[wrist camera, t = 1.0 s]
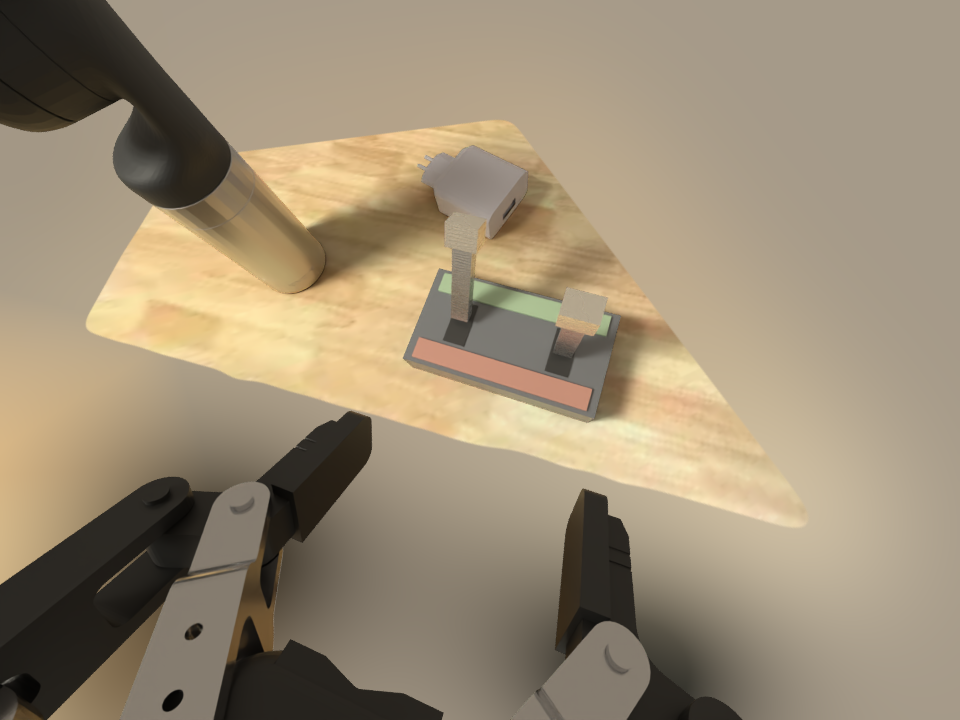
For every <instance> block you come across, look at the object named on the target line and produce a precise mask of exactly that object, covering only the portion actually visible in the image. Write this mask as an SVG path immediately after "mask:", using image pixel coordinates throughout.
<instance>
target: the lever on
mask: <svg viewBox="0 0 960 720" xmlns="http://www.w3.org/2000/svg"><path fill="white" fill-rule="evenodd" d="M486 222H487V219H485V218H480V217H476V216H472V215H467V214H463V213H458V212H454V213H453V214H452V215H451V216H450V217H449V218H448V219H447V220H446V221H445V247H449V248H452V285H451V318H454V319H457V320H461V321H464V322H468V320H469V319H470V317H471V315H472V303H473V290H474V277H475V264H476V254H477V253H478V251H479V250H480V249H481V247H482V246H483V244H484V243H485V233H486Z"/></svg>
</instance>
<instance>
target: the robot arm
mask: <svg viewBox="0 0 960 720" xmlns="http://www.w3.org/2000/svg"><path fill="white" fill-rule="evenodd" d="M120 99H125V100H127V101H128V102H130V103H131V104H132V105H133V106H134V107H133V111H132V114H131V116H130V118H129V119H128V121H127V123H126V124H125V126H124V128H123V130H122V131H121V133H120V134H119V136H118V138H117V141H116V143H115V147H114V152H113V164H114V168H115V171H116V173H117V175H118V177H119V178H120V179H121V181H122V182H123V183H124V184H125V185H126V186H127V187H128V188H130V189H131V190H132V191H134V192H135V193H136V194H138V195H139V196H141V197H142V198H144V199H145V200H146V201H148V202H149V203H151V204H152V205H154V206H155V207H156V208H158V209H159V210H161V211H162V212H164V213H165V214H166V215H168V216H169V217H171V218H172V219H174V220H175V221H176V222H178V223H179V224H181V225H182V226H184V227H185V228H187V229H188V230H189V231H191V232H192V233H194V234H195V235H197V236H198V237H199V238H201V239H202V240H204V241H205V242H207V243H208V244H209V245H211V246H212V247H214V248H215V249H217V250H218V251H219V252H221V253H222V254H224V255H225V256H227V257H228V258H229V259H231V260H232V261H234V262H235V263H236V264H238V265H239V266H241V267H242V268H244V269H245V270H246V271H248V272H249V273H251V274H252V275H253V276H255V277H256V278H258V279H259V280H261V281H262V282H263V283H265V284H266V285H268V286H269V287H271V288H272V289H273V290H275V291H278V292H280V293H296V292H300V291H302V290H304V289H306V288H308V287H309V286H311V285H312V284H313V283H314V282H315V281H316V280H317V279H318V278H319V276H320V275H321V273H322V271H323V269H324V266H325V252H324V250H323V248H322V246H321V245H320V244H319V242H318V241H317V240H316V239H315V238H314V237H313V236H312V235H311V233H310V232H309V231H308V230H307V229H306V228H305V227H304V225H303V224H302V223H301V222H300V221H299V220H298V219H297V218H296V217H295V215H294V214H293V213H292V212H291V211H290V210H289V209H288V208H287V207H286V206H285V204H284V203H283V202H282V201H281V200H280V199H279V198H278V197H277V196H276V194H275V193H274V192H273V191H272V190H271V189H270V188H269V187H268V186H267V185H266V183H265V182H264V181H263V180H262V179H261V178H260V177H259V176H258V175H257V174H256V172H255V171H254V170H253V169H252V168H251V167H250V166H249V165H248V164H247V163H246V162H245V160H244V159H243V158H242V157H241V156H240V155H239V154H238V153H237V152H236V151H235V149H234V148H233V147H232V146H231V145H230V144H229V143H228V142H227V141H226V140H225V138H224V137H223V136H222V135H221V134H220V133H219V132H218V131H217V130H216V129H215V128H214V127H213V125H212V124H211V123H210V122H209V121H208V120H207V118H206V117H205V116H204V115H203V114H202V113H201V112H200V110H199V109H198V108H197V107H196V106H195V105H194V104H193V102H192V101H191V100H190V99H189V98H188V97H187V95H186V94H185V93H184V92H183V91H182V90H181V89H180V88H179V87H178V85H177V84H176V83H175V82H174V81H173V80H172V79H171V78H170V76H169V75H168V74H167V73H166V72H165V71H164V70H163V68H162V67H161V66H160V65H159V64H158V63H157V62H156V60H155V59H154V58H153V57H152V55H151V54H150V53H149V52H148V51H147V50H146V48H144V46H143V45H142V44H141V42H140V41H139V40H138V39H137V38H136V36H135V35H134V34H133V33H132V32H131V30H130V29H129V28H128V27H127V25H126V24H125V23H124V22H123V21H122V19H121V18H120V17H119V16H118V15H117V13H116V12H115V11H114V10H113V9H112V8H111V6H110V5H109V4H108V2H107V1H106V0H0V124H3V125H6V126H9V127H12V128H17V129H20V130H24V131H30V132H47V131H52V130H57V129H60V128H64V127H67V126H69V125H71V124H73V123H76V122H78V121H80V120H82V119H84V118H85V117H87V116H89V115H91V114H93V113H95V112H97V111H99V110H101V109H103V108H105V107H107V106H109V105H111V104H113V103H115V102H116V101H118V100H120ZM371 450H372V425H371V418H370V417H368V416H365V415H362V414H359V413H355V412H353V411H349V412H347V413H346V414H345V415H344V416H343V417H342V418H341V419H339V420H338V421H337V422H335V421H333V420H331V421H329V422H327V423H325V424H323V425H321V426H318V427H317V428H315V429H314V430H313V431H312V432H311V433H310V434H309V435H308V436H306V438H305V440H304V439H303V440H302V441H301V442H300V443H299V444H298V445H297V446H296V448H293V449H292V450H291V451H290V452H289V453H288V454H286V456H284V457H283V458H282V459H281V460H280V461H279V462H278V463H276V464H275V465H274V466H273V467H272V468H271V469H270V470H269V471H268V472H266V473H265V474H264V475H263V476H262V477H261V478H260V479H258V480H257V481H256V482H246V483H241V484H238V485H235V486H233V487H231V488H229V489H227V490H226V491H224V492H201V491H192V490H191V488H190V486H189V483H188V482H187V481H186V480H185V479H183V478H180V477H167V478H161V479H157V480H154V481H152V482H149V483H147V484H145V485H143V486H142V487H140V488H138V489H137V490H135V491H134V492H133V493H131V494H130V495H128V496H127V497H125V498H124V499H123V500H121V501H120V502H118V503H117V504H115V505H114V506H113V507H111V508H110V509H108V510H107V511H105V512H104V513H102V514H101V515H100V516H98V517H97V518H95V519H94V520H93V521H91V522H90V523H88V524H87V525H85V526H84V527H82V528H81V529H80V530H78V531H77V532H75V533H74V534H72V535H71V536H69V537H68V538H67V539H65V540H64V541H62V542H61V543H59V544H58V545H57V546H55V547H54V548H52V549H51V550H49V551H48V552H47V553H45V554H44V555H42V556H41V557H39V558H38V559H37V560H35V561H34V562H32V563H31V564H29V565H28V566H26V567H25V568H24V569H22V570H21V571H19V572H18V573H16V574H15V575H14V576H12V577H11V578H9V579H8V580H7V581H5V582H4V583H2V584H1V585H0V720H47V719H48V718H49V717H50V716H51V715H52V714H53V713H54V712H55V711H56V710H57V709H58V708H59V707H60V706H61V705H62V704H63V703H64V702H65V701H66V700H67V699H68V698H69V697H70V696H71V695H72V694H73V693H74V692H75V691H76V690H77V689H78V688H79V687H80V686H81V685H82V684H83V683H84V682H85V681H86V680H87V679H88V678H89V677H90V676H91V675H92V674H93V673H94V672H95V671H96V670H97V669H98V668H99V667H100V666H101V665H102V664H103V663H104V662H105V661H106V660H107V659H108V658H109V657H110V656H111V655H112V654H113V653H114V652H115V651H116V650H117V649H118V648H119V647H120V646H121V645H122V644H123V643H124V642H125V641H126V639H128V638H129V637H130V636H131V635H132V634H133V633H134V632H135V631H136V630H137V629H138V628H139V626H141V625H142V624H143V623H144V622H145V621H146V620H147V619H148V618H149V616H151V615H152V614H153V613H154V612H155V611H156V610H157V609H158V608H159V607H160V606H161V604H163V602H165V603H164V606H163V608H162V611H161V614H160V616H159V619H158V621H157V624H156V627H155V629H154V632H153V634H152V637H151V640H150V642H149V645H148V647H147V650H146V653H145V655H144V658H143V660H142V663H141V665H140V668H139V671H138V673H137V676H136V679H135V681H134V684H133V686H132V689H131V691H130V694H129V697H128V699H127V702H126V705H125V707H124V710H123V712H122V715H121V717H120V720H442V717H443V712H441V711H439V710H437V709H435V708H433V707H431V706H428V705H426V704H424V703H422V702H420V701H418V700H416V699H414V698H412V697H410V696H408V695H406V694H403V693H393V692H383V691H373V690H362V689H358V688H356V687H355V686H354V685H353V684H352V683H351V682H350V681H349V680H348V679H347V678H346V677H345V676H344V675H343V674H342V673H341V672H340V671H339V670H338V669H337V667H336V666H335V665H334V664H333V663H332V662H331V661H330V660H329V659H328V658H327V657H326V656H324V655H322V654H320V653H318V652H316V651H314V650H312V649H310V648H308V647H306V646H303V645H302V644H299V643H297V642H295V641H293V640H290V641H289V642H288V644H287V645H286V647H285V648H284V650H283V651H282V650H280V651H273V645H274V620H273V619H274V609H275V602H276V595H277V589H278V582H279V576H280V569H281V562H282V555H283V546H284V545H285V544H286V543H287V541H289V539H290V538H292V539H295V540H297V541H300V542H302V543H303V541H304V540H305V539H306V538H307V536H308V535H309V534H310V533H311V531H312V530H313V529H314V528H315V526H316V525H317V524H318V523H319V521H320V520H321V519H322V518H323V517H324V515H325V514H326V512H328V510H329V509H330V508H331V506H332V505H333V504H334V503H335V502H336V500H337V499H338V498H339V497H340V495H341V494H342V493H343V491H344V490H345V489H346V488H347V487H348V485H349V484H350V483H351V482H352V480H353V479H354V478H355V477H356V476H357V474H358V473H359V472H360V470H361V469H362V468H363V467H364V465H365V464H366V463H367V461H368V459H369V457H370V454H371ZM145 549H146V550H147V551H146V552H145V553H144V554H143V555H141V556H140V557H139V558H138V559H137V560H135V561H134V562H133V563H132V564H131V565H130V566H128V567H127V568H126V569H125V570H124V571H123V572H121V573H120V574H119V575H118V576H117V577H116V578H114V579H113V580H112V581H111V582H110V583H109V584H107V585H106V586H105V587H104V588H103V589H101V590H100V591H99V592H98V590H99V589H100V588H101V587H102V585H104V583H106V582H107V581H108V580H109V579H110V578H112V577H113V576H114V575H115V574H116V573H117V572H119V571H120V570H121V569H122V568H123V567H124V566H126V565H127V564H128V563H129V562H131V561H132V560H133V559H134V558H135V557H136V556H138V555H139V554H140V553H141V552H142V551H144V550H145ZM97 592H98V593H97ZM96 593H97V594H96ZM555 650H556V651H558V652H561V653H563V654H565V655H566V656H565V661H564V662H563V664H562V665H561V666H560V667H559V668H558V669H557V670H556V671H555V673H554V674H553V675H552V676H551V677H550V678H549V680H548V681H547V682H546V683H545V684H544V685H543V686H542V687H541V688H540V689H538V690H537V691H536V692H535V693H534V694H533V695H532V696H531V697H530V698H529V699H528V700H527V701H526V702H525V703H524V704H523V706H522V707H521V708H520V709H519V710H518V712H516V714H515V715H514V716H513V717H512V718H511V719H510V720H742V719H741V718H740V717H739V716H738V715H737V714H736V712H734V711H733V710H732V709H731V708H730V707H729V706H727V705H726V704H724V703H723V702H721V701H719V700H717V699H715V698H712V697H700V698H698V699H696V700H695V699H694V698H693V697H691V696H690V695H689V694H687V693H686V692H685V691H684V690H682V689H681V688H680V687H679V686H677V685H676V684H675V683H674V682H672V681H671V680H670V679H669V678H667V677H666V676H665V675H663V673H661V672H660V671H659V670H658V669H657V668H656V667H655V665H654V664H653V663H652V662H651V661H650V659H649V658H648V656H647V654H646V652H645V650H644V648H643V646H642V645H641V643H640V640H639V638H638V634H637V629H636V618H635V606H634V594H633V583H632V572H631V559H630V547H629V536H628V534H627V532H626V530H625V528H624V526H623V523H622V521H621V519H619V518H616V517H613V516H610V515H608V500H607V497H606V496H605V495H601V494H598V493H595V492H592V491H589V490H586V489H582V490H581V492H580V495H579V497H578V499H577V502H576V504H575V506H574V509H573V511H572V513H571V515H570V518H569V521H568V524H567V529H566V534H565V543H564V554H563V566H562V577H561V587H560V598H559V609H558V620H557V631H556V642H555Z"/></svg>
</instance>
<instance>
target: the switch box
mask: <svg viewBox="0 0 960 720" xmlns="http://www.w3.org/2000/svg"><path fill="white" fill-rule="evenodd" d="M451 285H452V272H451V271H447V270H443V269H439V270H438V273H437V275H436V278H435V280H434V282H433V285H432V287H431V290H430V292H429V295H428V297H427V300H426V302H425V305H424V307H423V310H422V312H421V315H420V317H419V320H418V322H417V324H416V327H415V329H414V332H413V334H412V337H411V339H410V342H409V344H408V347H407V349H406V352H405V354H404V357H403V359H404V360H405V361H406V362H407V363H409V364H410V365H411V366H412V367H414V368H417V369H420V370H423V371H426V372H430V373H433V374H436V375H439V376H442V377H445V378H448V379H451V380H455V381H458V382H461V383H464V384H467V385H470V386H473V387H477V388H480V389H483V390H486V391H489V392H492V393H495V394H498V395H502V396H505V397H508V398H511V399H514V400H517V401H520V402H524V403H527V404H530V405H533V406H536V407H539V408H542V409H545V410H549V411H552V412H555V413H558V414H561V415H564V416H567V417H571V418H574V419H577V420H580V421H583V422H586V423H587V422H589V421H591V420H593V419H594V418H595V414H596V410H597V407H598V403H599V399H600V395H601V391H602V387H603V383H604V379H605V376H606V372H607V368H608V364H609V360H610V356H611V352H612V348H613V345H614V341H615V337H616V333H617V329H618V325H619V321H620V317H621V316H619V315H616V314H612V313H608V312H604V314H603V317H602V321H601V325H600V327H599V328H598V330H597V332H596V333H595V335H594V336H590V335H586V334H585V335H584V336H583V338H582V340H581V342H580V343H579V345H578V347H577V349H576V351H575V352H574V354H573V356H572V358H568V357H565V356H561V355H558V354H554V353H553V351H554V347H555V344H556V341H557V338H558V335H559V332H560V329H561V327H557V326H555V324H556V321H557V318H558V314H559V311H560V308H561V305H562V300H558V299H554V298H550V297H547V296H543V295H539V294H535V293H531V292H527V291H524V290H520V289H516V288H512V287H508V286H505V285H501V284H497V283H493V282H489V281H485V280H482V279H478V278H474V290H473V303H472V315H471V317H470V319H469V320H468V322H464V321H461V320H457V319H454V318H451Z"/></svg>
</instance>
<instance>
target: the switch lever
mask: <svg viewBox="0 0 960 720" xmlns="http://www.w3.org/2000/svg"><path fill="white" fill-rule="evenodd" d="M607 299H608V298H607V297H603V296H599V295H595V294H591V293H588V292H584V291H580V290H576V289H572V288H568V287H567V288H566V291H565V295H564V298H563V301H562V305H561V308H560V311H559V314H558V318H557V321H556V324H555V326H557V327H561V329H560V332H559V335H558V338H557V341H556V344H555V347H554V351H553V353H554V354H558V355H561V356H565V357H568V358H572V356H573V354H574V352H575V351H576V349H577V347H578V345H579V343H580V342H581V340H582V338H583V336H584V335H585V334H586V335H590V336H594V335H595V333H596V332H597V330H598V328H599V327H600V325H601V321H602V317H603V314H604V310H605V306H606V303H607Z"/></svg>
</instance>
